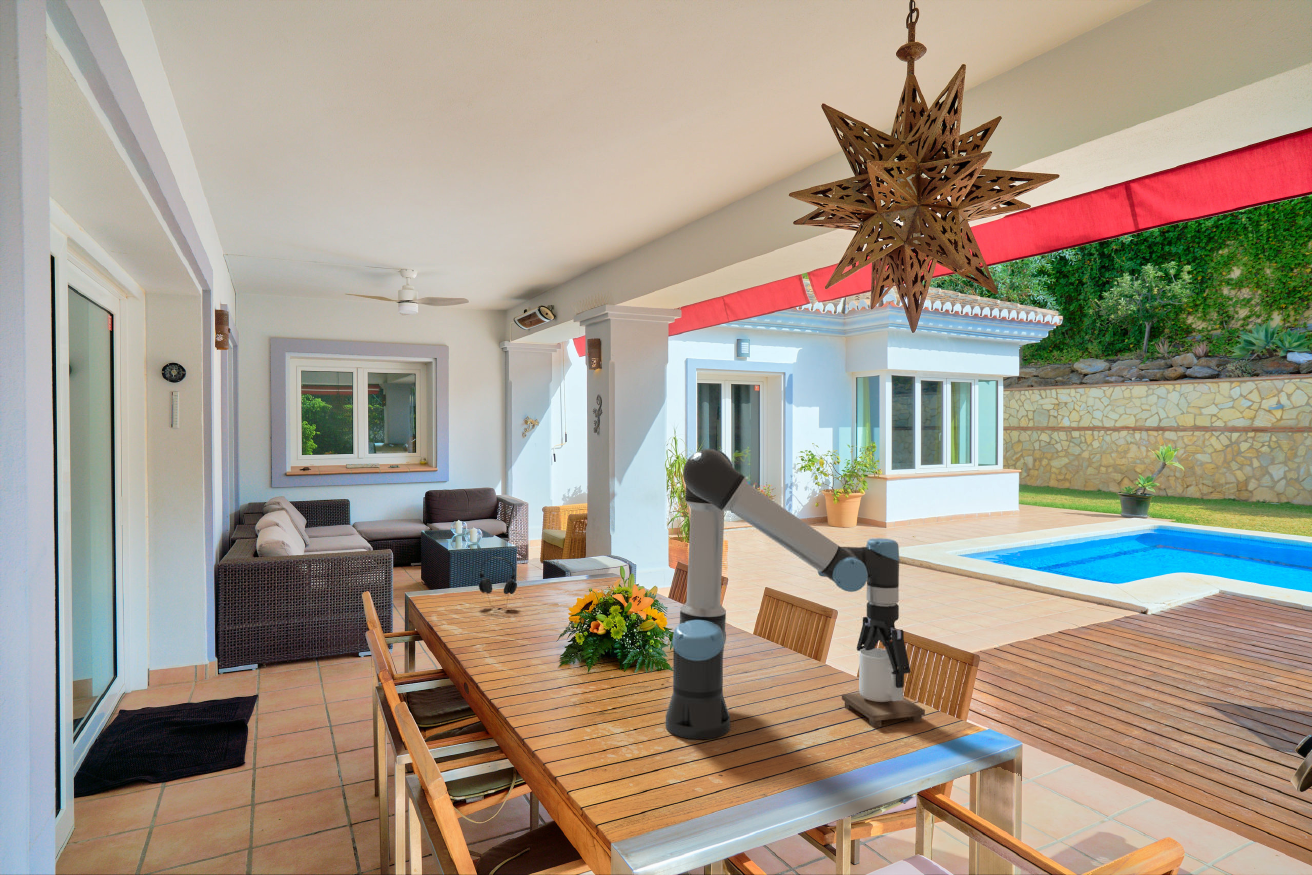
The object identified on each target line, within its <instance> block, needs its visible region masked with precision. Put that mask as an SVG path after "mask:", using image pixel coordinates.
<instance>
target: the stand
mask: <svg viewBox="0 0 1312 875" xmlns="http://www.w3.org/2000/svg"><path fill="white" fill-rule="evenodd" d="M841 700H842V701H843V702H844V708H846V710H848V711H853V710H856V711H858V712H859V713H861V714H862V715H864V716H865V717H867V719H868V725H869V726H870V727H872V728H874V729H876V728H882V721H887V720H894V719H903V718H909V721H911V722H913V723H915V724H916V723H922V722H923V721H922V719H923V716H925V715H926V709H924V708H923V707H921V706H920V705H917V704H916V703H914V702H912V701H910V700H909V699H907V698H906V697H904V696H903V700H900V701H892V700H891V701H888V702H876V701H871V700H867V699H865V698H863V697H862V696H861V695H860V692H855V693H853V692H852V693H846V694H841Z"/></svg>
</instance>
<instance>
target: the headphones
mask: <svg viewBox="0 0 1312 875" xmlns="http://www.w3.org/2000/svg"><path fill="white" fill-rule="evenodd" d="M493 559H500V560H503V561H505V562H506V563H508V564H509V566H510V567H511V570H512V573H513V574H511V576H510V577H511V578H508V580H507V582H506V583H505V585H504V588H503V594H504V595H509V594H510V595H513V594H514V593H515V592H516V591H517V587H518V583H517V582H516V581H515V580H516V574H515V572H516V569H515V568H514V567H513V565H512V563H511V562H510V560H509V559H507V558H504V557H501V556H493V557H490V558H487V559H486V560H484V561H483V563H482V565H481V566H480V573H479V579H482V580H480V581H479V583H478V589H479V591H480V592H481V593H482V594H485V593H486V595H487V597H488V598H487V599H490V597H489V595H488V594H492V592H493V584H492V581H491V580H490V579H489V578H488V577H485V574H484V573H483V567H484V565H485V563H487V562H488V561H489V560H493ZM508 599H509V597H507V600H506V601H508ZM488 602H489V603H491V602H490V600H488ZM490 605H491V606H492V608H494V611H493V612H495V613H498V614H499V613H500V614H504V613H507V612H508V613H510V612H511V610H507V609H506V608H507V606H508V604H506V607H503V610H502V607H497V610H496V607H495V606H493V605H492V604H490ZM504 608H505V609H506V610H505V609H504ZM500 610H501V611H500ZM503 611H505V612H503ZM488 613H489V614H490V612H488Z"/></svg>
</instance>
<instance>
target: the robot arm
mask: <svg viewBox="0 0 1312 875" xmlns="http://www.w3.org/2000/svg"><path fill="white" fill-rule="evenodd" d="M732 463H733V462H732V461H731V460H730V458H729V457H728V456H727V454H726V453H724V452H723V451H721V450H718V449H715V448H703V449H700V450H698V451H696V452H694V453H693V454H691V456H689V457H688V459H687V461H686V462H685V464H684V466H683V471H682V476H683V481H684V483H685V491H684V492H685V496H684V501H685V503H686V504H687V506H688V507H689V508H690V514H689V516H690V517H689V518H690V519H689V537H688V538H689V539H688V560H687V561H688V562H687V564H688V565H687V582H686V583H687V586H686V602H685V603H683V604H682V606H680V609H679V610H680V611H679V623H678V625H677V626H676V627H675V628H674V629H673V630H674V631H673V636H672V639H671V640H672V642H671V643H672V646H673V647H672V648H673V651H672V652H673V659H672V660H673V662H672V663H673V664H672V665H673V666H672V671H673V673H672V675H673V676H672V681H673V682H672V684H673V685H672V686H673V687H672V695H671V699H670V701H669V705H668V708H667V711H666V714H665V728H666V730H667V731H668V732H669V733H671V734H673V735H675V736H677V737H679V738H680V737H681V738H684V739H689V740H690V739H691V740H709V739H710V740H711V739H716V738H719V737H722V736H724V735H725V734H727V733H728V732H729V731H730V729H731V717H730V714H729V709H728V706H727V703H726V700H725V697H724V691H723V690H724V689H723V685H724V679H723V678H724V676H723V675H724V674H723V673H724V666H723V665H724V653H725V651H724V650H725V645H726V641H727V632H726V623H727V621H726V620H727V617H726V616H727V610H726V609H725V608H724V607H723V605H722V604H721V601H722V600H721V597H722V596H721V595H722V576H723V575H722V573H723V556H724V555H723V553H724V532H725V531H724V530H725V512H727V511H730V513H732V514H734V515H735V516H737V517H739V518H740V519H742V520H743V521H744V522H746V523H747V524H749V525H750V526H752V527H753V528H755V529H756V530H758V531H759V532H761V533H762V534H763V535H765V536H766V537H767V538H770V539H771V540H772V541H774V542H775V543H776V544H778V545H780V546H781V547H783V548H784V549H785V550H787V551H789V552H790V553H791V554H793V555H794V556H796V557H798V559H800V560H801V561H803V562H805V563H806V564H808V565H809V566H811V567H812V568H813V569H815V570H816V571H817V574H818V575H819V576H820V577H823V578H828V579H829V580H831V581H832V582H834V584H835V585H836V586H837V587H838V588H839V589H841V590H843V591H844V592H848V593H853V592H857V591H860V590H861V589H862V588H864V586H866V600H867V603H866V616H863V617H862V626H861V630H860V634H859V638H858V641H857V645H856V650H857V652H860V650H862V649H866V650H872V649H874V648H876V646H877V644H878V642H881V643H882V646H883V647H885V649H886V650H887V653H888V656H889V659H890V662H891V665H892V668H893V672H892V673H891V700H892V701H900V700H903V697H904V686H905V684H904V683H905V674H910V673H911V666H910V662H909V658H908V657H909V656H908V654H907V652H908V651H907V649H906V648H907V647H906V644H905V638H904V637H905V636H904V635H905V633H904V630H903V629H897V628H896V626H895V623H896V622H897V621H898V620H899V618H900V616H899V615H900V605H899V604H898V603H899V601H900V600H899V599H900V598H899V597H900V594H899V591H900V590H899V589H900V588H899V586H900V584H899V583H900V580H899V579H900V561H901V559H900V552H899V551H900V549H899V548H900V546H899V543H898V542H897V541H896V540H894V539H890V538H879V537H877V538H869V539H868V540H867V542H866V546H861V547H858V546H855V547H854V546H840V545H839V544H837V543H836V542H834V541H832V540H831V539H830V538H829V537H826V536H825V535H824V534H822V533H821V532H819V531H818V530H817V529H815V528H813V527H812V526H810V524H807V523H806V521H805V522H804V520H802V519H800V518H799V517H797V516H796V515H794V514H793V513H791V512H790V511H788V510H787V509H786V508H784V507H783V506H781V505H779V504H778V503H777V502H775V501H774V500H772V499H771V498H770V497H768V496H767V495H765V494H763V493H762V492H760V490H757V489H756V488H754V487H753V486H751V485H750V484H749V483H748V480H747V477H746V476H744V475H743V474H742V473H740V472H739V471H737V469H735V468H734V467H733V464H732Z"/></svg>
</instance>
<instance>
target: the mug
mask: <svg viewBox="0 0 1312 875" xmlns="http://www.w3.org/2000/svg"><path fill="white" fill-rule="evenodd" d="M858 652H859V656H858V657H859V658H858V659H859V660H858V661H859V662H858V664H859V665H858V671H859V672H858V673H859V675H858V691H859V692H858V693H860V695H861V696H862V697H863V698H865V699H867V700H871V701H876V702H888V701H891V673H892V672H893V668H892V665H891V662H890V659H889V656H888V653H887V650H886V648H879V647H878V648H877V647H875V648H874V649H872V650H866V649H862V650H860V651H858Z"/></svg>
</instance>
